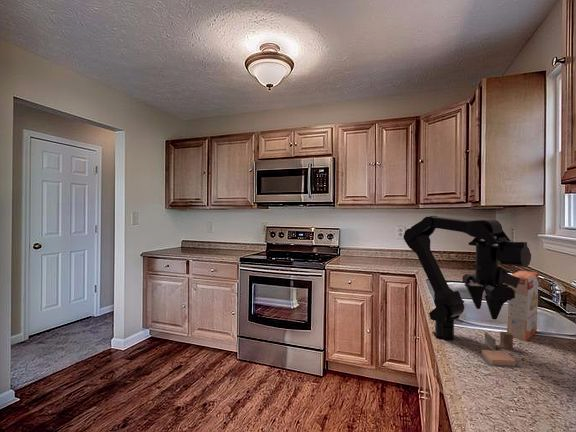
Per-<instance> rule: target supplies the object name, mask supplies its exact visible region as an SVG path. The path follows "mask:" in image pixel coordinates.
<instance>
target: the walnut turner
mask: <svg viewBox="0 0 576 432" xmlns="http://www.w3.org/2000/svg"><path fill="white" fill-rule="evenodd" d="M499 338H500V339H499V344H497V343H496V340H497V339H496V338H495V337H493V336H492V334H490V333H488V331H487V332H486V331H485V332H484V344H485V345H486V346H487V347H488V348H490V350H496V349H503V350H514V338H513V335H512V334H511V333H509V332H507V331H500V333H499ZM496 351H497V350H496Z"/></svg>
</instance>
